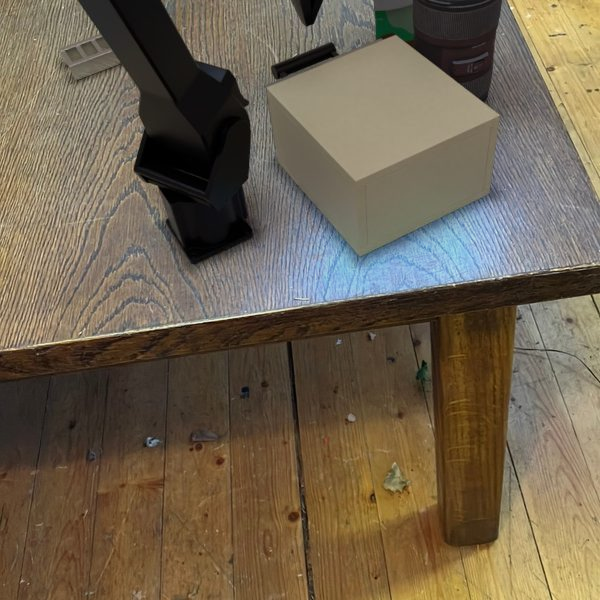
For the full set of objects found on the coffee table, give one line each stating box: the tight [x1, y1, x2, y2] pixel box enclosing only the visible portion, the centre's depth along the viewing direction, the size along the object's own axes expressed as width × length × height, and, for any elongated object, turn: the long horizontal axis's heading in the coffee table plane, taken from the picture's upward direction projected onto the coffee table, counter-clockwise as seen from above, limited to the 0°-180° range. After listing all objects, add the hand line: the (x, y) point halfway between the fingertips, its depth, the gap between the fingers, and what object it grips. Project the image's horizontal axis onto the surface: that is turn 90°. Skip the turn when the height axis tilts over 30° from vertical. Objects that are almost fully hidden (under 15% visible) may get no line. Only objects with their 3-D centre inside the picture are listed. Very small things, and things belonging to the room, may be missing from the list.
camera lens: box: [413, 0, 503, 104], centre depth 71 cm, size 8×8×15 cm
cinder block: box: [58, 33, 122, 82], centre depth 89 cm, size 6×5×2 cm
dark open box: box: [264, 38, 383, 145], centre depth 70 cm, size 20×13×7 cm, turn 29°
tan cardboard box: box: [265, 35, 501, 258], centre depth 67 cm, size 16×14×9 cm
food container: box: [373, 0, 414, 49], centre depth 81 cm, size 12×6×10 cm, turn 168°
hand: (307, 24), depth 70 cm, fingers closed
